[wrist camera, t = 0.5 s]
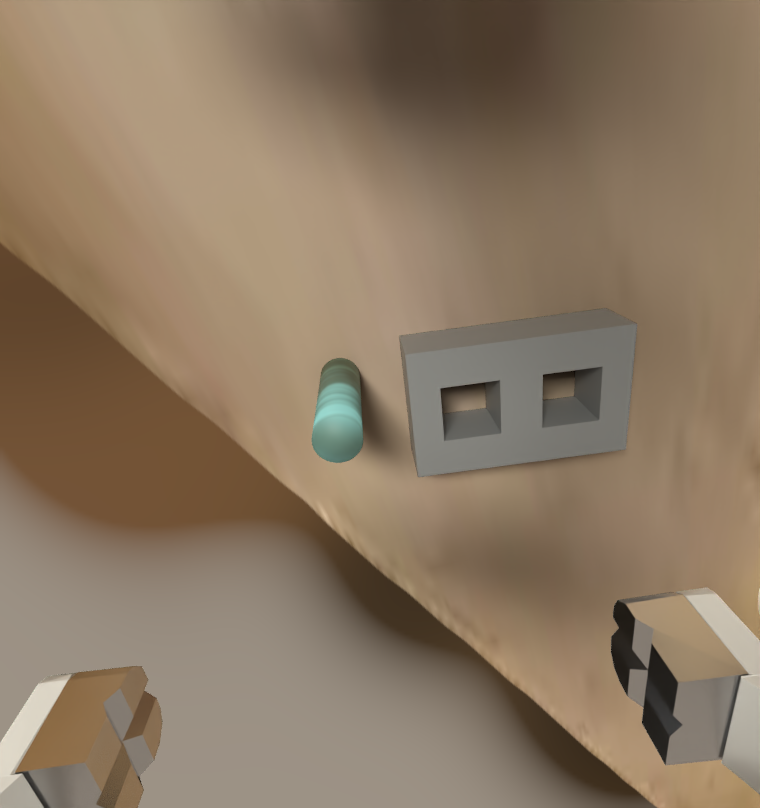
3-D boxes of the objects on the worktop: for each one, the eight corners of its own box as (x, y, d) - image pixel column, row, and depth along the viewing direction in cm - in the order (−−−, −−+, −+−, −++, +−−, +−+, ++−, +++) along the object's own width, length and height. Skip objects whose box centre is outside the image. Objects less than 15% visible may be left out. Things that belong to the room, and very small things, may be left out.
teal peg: (317, 360, 51) (307, 421, 39) (356, 355, 51) (359, 413, 39) (324, 396, 53) (316, 465, 40) (362, 391, 53) (366, 458, 40)
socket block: (399, 335, 51) (405, 354, 45) (606, 308, 51) (637, 323, 45) (411, 448, 56) (418, 477, 51) (598, 423, 56) (625, 449, 51)
